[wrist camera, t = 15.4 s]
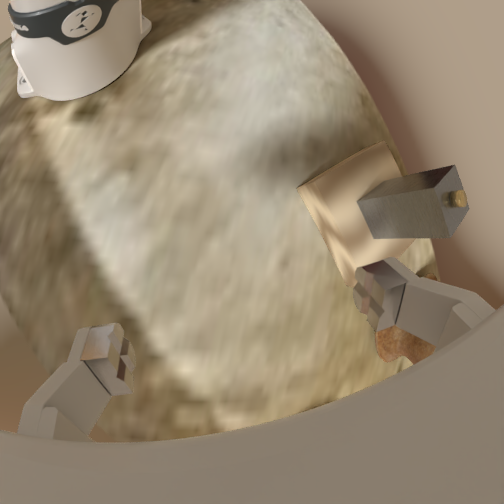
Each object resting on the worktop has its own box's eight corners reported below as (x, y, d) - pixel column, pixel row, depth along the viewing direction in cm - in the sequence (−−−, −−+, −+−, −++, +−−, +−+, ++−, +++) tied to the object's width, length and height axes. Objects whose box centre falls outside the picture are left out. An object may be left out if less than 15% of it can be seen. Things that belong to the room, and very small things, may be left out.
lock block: (356, 201, 30) (444, 186, 18) (384, 180, 31) (463, 162, 20) (373, 239, 31) (460, 237, 19) (399, 215, 32) (478, 208, 21)
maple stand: (296, 188, 32) (314, 181, 28) (365, 147, 35) (384, 139, 32) (346, 285, 34) (367, 289, 31) (403, 231, 38) (423, 230, 34)
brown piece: (377, 377, 38) (448, 412, 23) (364, 316, 36) (452, 342, 22) (430, 327, 42) (496, 344, 28) (422, 270, 40) (498, 276, 26)
